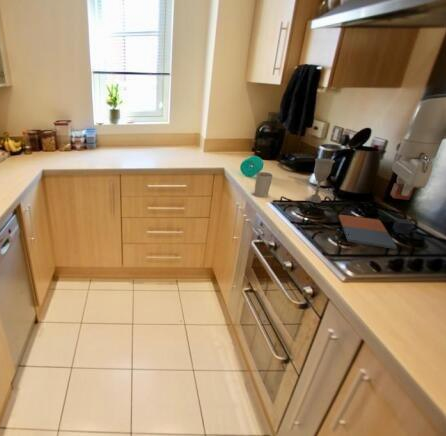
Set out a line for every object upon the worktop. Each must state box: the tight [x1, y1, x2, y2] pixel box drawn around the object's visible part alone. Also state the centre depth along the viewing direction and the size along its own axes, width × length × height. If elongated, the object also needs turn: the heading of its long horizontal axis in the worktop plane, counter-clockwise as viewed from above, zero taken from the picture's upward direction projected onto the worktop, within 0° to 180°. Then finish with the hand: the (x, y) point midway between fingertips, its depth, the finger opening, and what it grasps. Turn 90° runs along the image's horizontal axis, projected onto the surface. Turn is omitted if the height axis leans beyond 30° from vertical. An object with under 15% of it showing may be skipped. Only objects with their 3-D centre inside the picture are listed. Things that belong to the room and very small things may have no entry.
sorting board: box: [338, 214, 398, 250], centre depth 112 cm, size 13×22×1 cm, turn 154°
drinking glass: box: [253, 171, 273, 198], centre depth 145 cm, size 7×7×10 cm
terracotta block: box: [390, 182, 415, 201], centre depth 103 cm, size 4×4×4 cm
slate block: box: [391, 217, 414, 235], centre depth 111 cm, size 4×4×4 cm
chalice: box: [308, 157, 336, 204], centre depth 136 cm, size 7×7×18 cm
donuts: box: [239, 155, 264, 178], centre depth 174 cm, size 10×10×10 cm
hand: (401, 192), depth 103 cm, fingers closed on terracotta block, 4 cm apart
